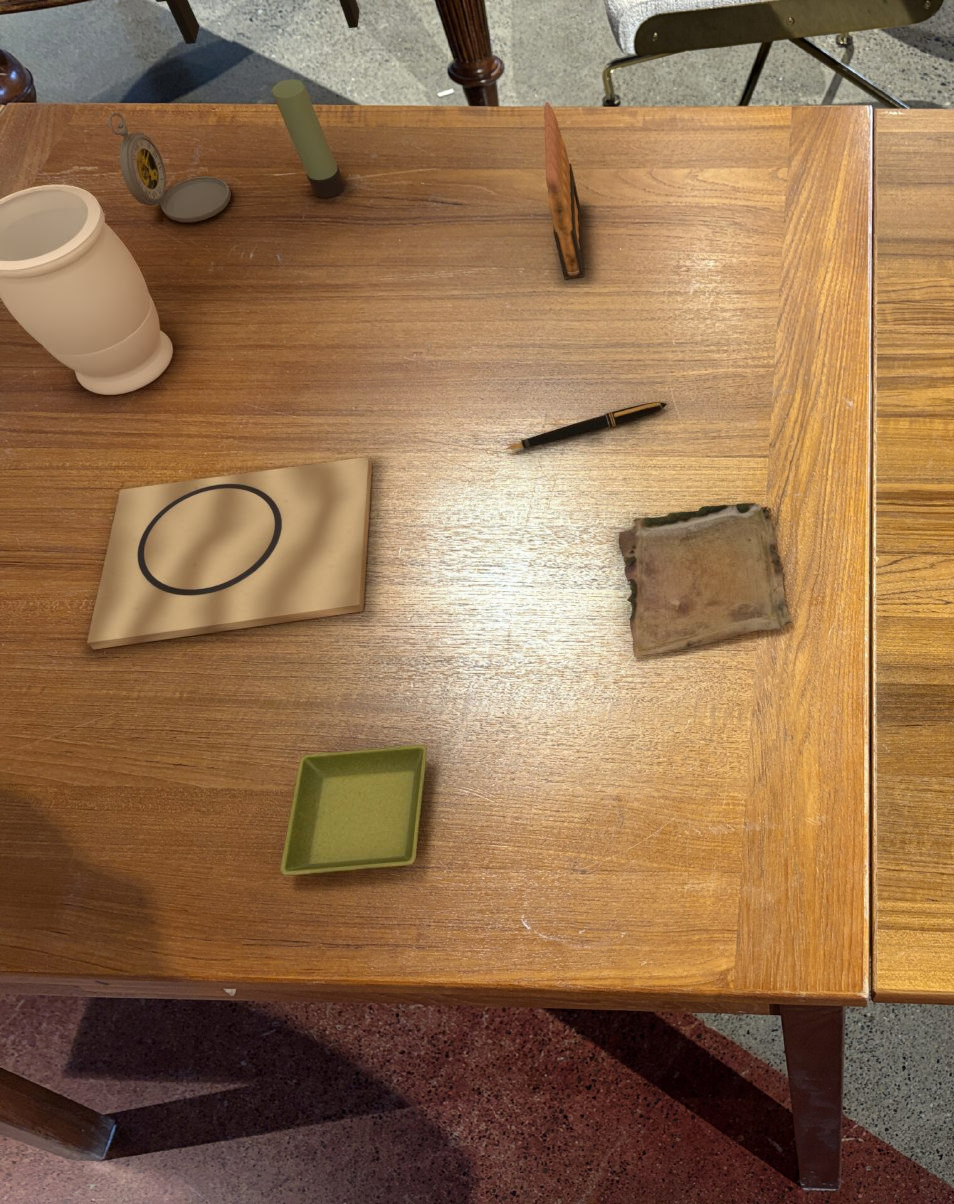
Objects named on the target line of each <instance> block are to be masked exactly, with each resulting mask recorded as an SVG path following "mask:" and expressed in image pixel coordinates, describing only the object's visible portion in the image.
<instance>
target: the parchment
mask: <svg viewBox="0 0 954 1204" xmlns="http://www.w3.org/2000/svg"><path fill="white" fill-rule="evenodd" d="M771 512H772V508H770V507H768V506H761V505H760V504H758V503H756V502H744V503H736V504H720V505H703V506H701V507H700V508H699V509H698V510H692V511H675V512H668V513H667V515H665V516H655V517H649V516H648V517H639V518H638V517H636V518H634V519H633V520H632V522H634V526H633V527H632V528H631V529H629V530H624V531H621V532H619V535H618V547H619V550H620V553H621V554H622V555H623V563H624V565H625V567H624V575H625V578H626V581H627V582H629V581H630V582H631V583H630V590H631V594H630V596H629V597H628V598H627V599H626V600H627V601H628V602H629V603H631V606H632V607H631V613H630V616H629V627H630V633H631V636H632V649H633V650H632V651H633V656H634V657H639V656H648V655H654V654H662V653H669V652H672V653H673V652H676V651H681V650H686V649H690V648H694V647H698V646H702V645H703V646H704V645H707V644H711V643H715V642H718V641H723V640H726V639H729V638H732V637H735V636H740V635H743V634H747V633H753V632H756V631H757V632H758V631H772V630H784V629H785V626H786V625H789V623H792V624H793V620H792V617H791V614H790V612H789V609H788V608H787V605H786V596H785V589H784V586H783V585H784V580H783V570H784V567H781V565H780V564H779V563H781V561H782V560H781V559H782V557H781V556H780V554H778V552H777V551H776V550H775V547H776V546H777V541H776V537H775V534H774V530H773V525H772V518H771V517H770V516H769V515H770V514H771Z"/></svg>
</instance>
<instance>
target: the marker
mask: <svg viewBox="0 0 954 1204" xmlns="http://www.w3.org/2000/svg"><path fill="white" fill-rule="evenodd" d="M271 94H272V97H273V99H274V101H275V103H276V106H277V107H278V111H279V113H280V115H281V117H282V119H283V122H284V124H285V127H286V128H287V131H288V133H289V136H290V138H291V140H292V143H293V145H294V147H295V150H296V152H297V154H298V156H299V159H300V161H301V163H302V166H303V168H304V171H305V172H306V178H307V181H308V182H309V185H310V187H311V190H312V191H313V194H314V195H315V196H317V197H318V198H321V199H330V198H334V197H337V196H339V195H341V193H343V192H344V191H345V189H346V182H345V180H344V177H343V175H342V173H341V170H340V167H339V165H338V164H337V163H336V159H335V158H334V154H333V153H332V149H331V147H330V144H329V143H328V140H327V138H326V135H325V133H324V130H323V127H322V125H321V122H320V120H319V118H318V116H317V113H316V111H315V108H314V106H313V102H312V101H311V98H310V95H309V93H308V90H307V87H306V85H305V84H304V82H303V81H301V80H299V79H295V78H290V79H283V80H281V81H279V82H277V83H275V85H274V86H273V87H272V89H271Z"/></svg>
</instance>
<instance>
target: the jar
mask: <svg viewBox="0 0 954 1204" xmlns="http://www.w3.org/2000/svg"><path fill="white" fill-rule="evenodd" d="M105 217H106V216H105V213H104V210H103V208H102V206H101V204H100V203H99V201H98V199H97V198H96V197H95V196H94V195H93V194H92V193H91V192H89V191H88V190H86V189H84V188H81V187H78V186H74V185H70V184H69V185H68V184H45V185H44V184H43V185H37V186H32V187H29V188H25V189H22V190H18V191H16V192H13V193H11V194H8V195H6V196H4V197H1V198H0V300H1V301H2V303H3V304H4V307H6V309H7V310H8V311H9V313H10V314H11V316H12V317H13V318H14V319H15V320H16V321H17V323H18V324H19V325H20V326H21V327H22V328H23V329H24V330H25V331H26V332H27V333H28V334H29V335H30V336H31V337H32V338H33V339H34V340H35V341H36V342H38V343H39V344H40V345H41V346H42V347H43V348H44V349H45V350H46V351H47V352H48V353H49V354H51V356H53V358H55V359H56V360H57V361H59V362H60V363H61V364H63V365H64V366H66V367H67V368H69V369H71V370H72V371H74V373H75V377H76V380H77V381H78V382H79V384H80V385H81V386H82V387H83V388H84V389H86V390H87V391H89V392H91V393H94V394H99V395H104V396H105V395H106V396H116V395H117V396H118V395H123V394H127V393H128V394H129V393H132V392H134V391H137V390H139V389H142V388H144V387H146V386H148V385H149V384H151V383H153V382H154V381H155V380H156V379H157V378H159V377H160V376H161V375H162V374H163V373H164V372H165V371H166V369H167V368H168V366H169V365H170V363H171V361H172V358H173V353H174V348H173V343H172V340H171V339H170V338H169V336H168V335H167V334H166V333H165V332H164V331H162V330H161V326H160V319H159V314H158V310H157V308H156V305H155V303H154V302H155V301H154V300H153V298H152V295H151V294H150V292H149V288H148V285H147V282H146V281H145V278H144V275H143V273H142V272H141V269H140V267H139V265H138V263H137V262H136V260H135V258H134V256H133V255H132V253H131V252H130V251H129V249H128V247H127V246H126V245H125V244H124V242H123V241H122V239H121V238H120V237H119V236H118V235H117V234H116V232H115V231H114V230H113V229H112V227H110V226H109V225H108V224H107V223H106V218H105Z"/></svg>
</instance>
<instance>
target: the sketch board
mask: <svg viewBox="0 0 954 1204" xmlns="http://www.w3.org/2000/svg"><path fill="white" fill-rule="evenodd" d="M372 463H373V462H372V461H371V458H370V457H369V456H365V457H357V458H356V457H355V458H347V459H343V460H342V459H341V460H334V461H325V462H320V463H319V462H318V463H312V464H304V465H297V466H295V465H294V466H289V467H282V468H272V469H266V470H258V471H251V472H250V471H249V472H241V473H236V474H235V473H234V474H229V475H228V474H227V475H220V476H214V477H213V476H212V477H205V478H198V479H197V478H196V479H190V480H181V481H174V482H168V483H160V484H151V485H146V486H137V487H129V488H123V489H119V493H118V496H117V497H118V498H117V503H116V506H115V512H114V516H113V520H112V525H111V530H110V535H109V539H108V543H107V548H106V552H105V557H104V562H103V567H102V571H101V575H100V580H99V585H98V589H97V594H96V598H95V602H94V603H95V604H94V608H93V613H92V619H91V621H90V626H89V630H88V637H87V640H86V643H87V645H88V646H89V647H90V648H91V649H93V650H99V649H100V650H101V649H106V648H107V649H108V648H115V647H121V646H129V645H137V644H144V643H149V642H156V641H163V640H164V641H165V640H170V639H177V638H184V637H191V636H198V635H199V636H200V635H205V634H215V633H221V632H229V631H234V630H243V629H248V628H255V627H263V626H269V625H275V624H276V625H277V624H285V623H291V622H298V621H303V620H311V619H318V618H325V617H332V616H339V615H347V614H354V613H360V612H361V613H362V612H364V610H365V609H364V607H365V593H366V592H365V591H366V575H367V574H366V573H367V559H368V558H367V557H368V539H369V525H370V510H371V509H370V507H371V492H372V491H371V490H372V473H373V464H372Z"/></svg>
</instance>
